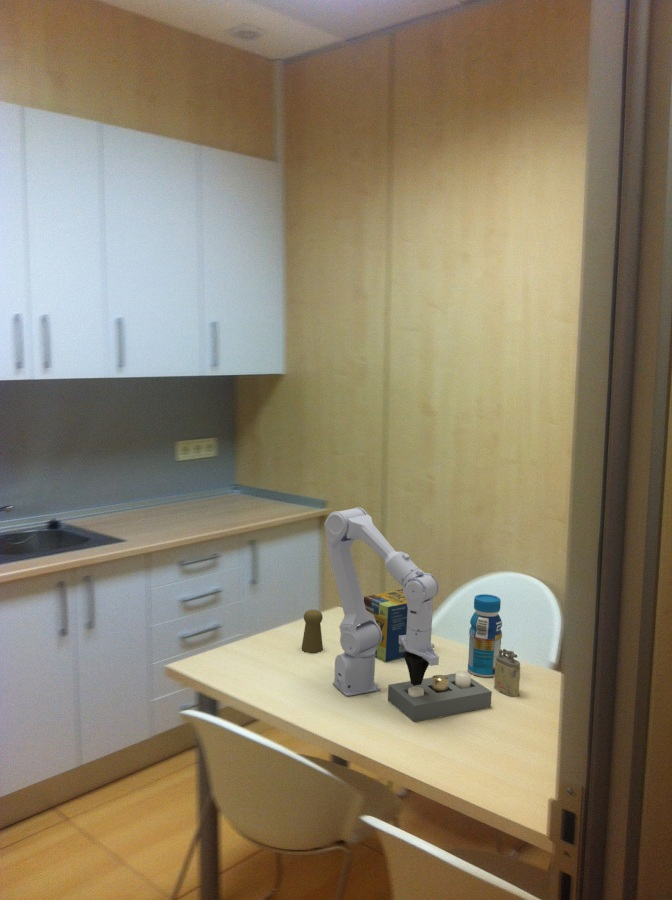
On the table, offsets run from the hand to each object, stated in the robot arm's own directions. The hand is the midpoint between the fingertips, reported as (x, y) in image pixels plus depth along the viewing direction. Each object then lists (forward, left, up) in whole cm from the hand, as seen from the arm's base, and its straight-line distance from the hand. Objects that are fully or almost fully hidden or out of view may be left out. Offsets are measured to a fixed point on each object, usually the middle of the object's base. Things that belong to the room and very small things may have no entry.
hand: (416, 684), depth 176 cm
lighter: (+26, 0, -6) cm, 27 cm away
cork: (-8, +42, -6) cm, 43 cm away
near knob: (0, 0, -6) cm, 6 cm away
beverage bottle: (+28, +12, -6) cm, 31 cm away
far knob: (+13, 0, -4) cm, 14 cm away
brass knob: (+7, 0, -4) cm, 8 cm away
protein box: (+13, +33, -6) cm, 36 cm away
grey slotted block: (+7, 0, -6) cm, 9 cm away
